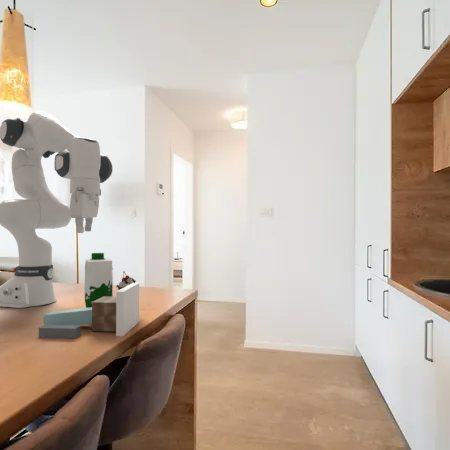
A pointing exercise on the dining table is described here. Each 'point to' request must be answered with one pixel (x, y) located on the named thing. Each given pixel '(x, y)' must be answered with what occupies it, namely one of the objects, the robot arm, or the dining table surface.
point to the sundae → (125, 282)
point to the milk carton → (97, 278)
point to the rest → (60, 331)
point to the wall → (127, 308)
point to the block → (104, 314)
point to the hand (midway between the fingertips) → (84, 232)
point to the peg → (69, 317)
